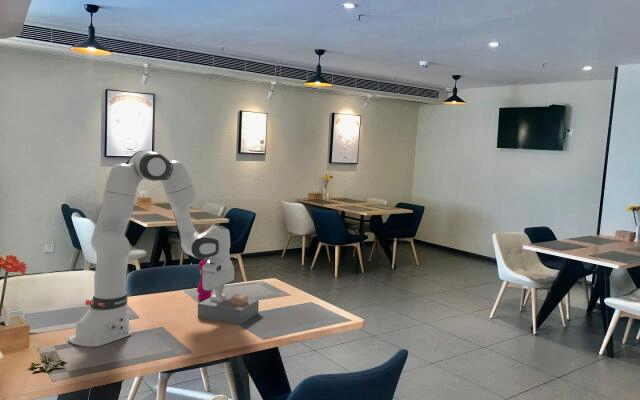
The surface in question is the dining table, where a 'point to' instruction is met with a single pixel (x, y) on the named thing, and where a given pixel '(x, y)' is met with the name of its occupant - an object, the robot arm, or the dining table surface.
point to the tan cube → (239, 299)
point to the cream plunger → (218, 298)
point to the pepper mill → (202, 293)
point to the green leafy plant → (46, 362)
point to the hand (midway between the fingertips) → (219, 295)
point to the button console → (228, 310)
